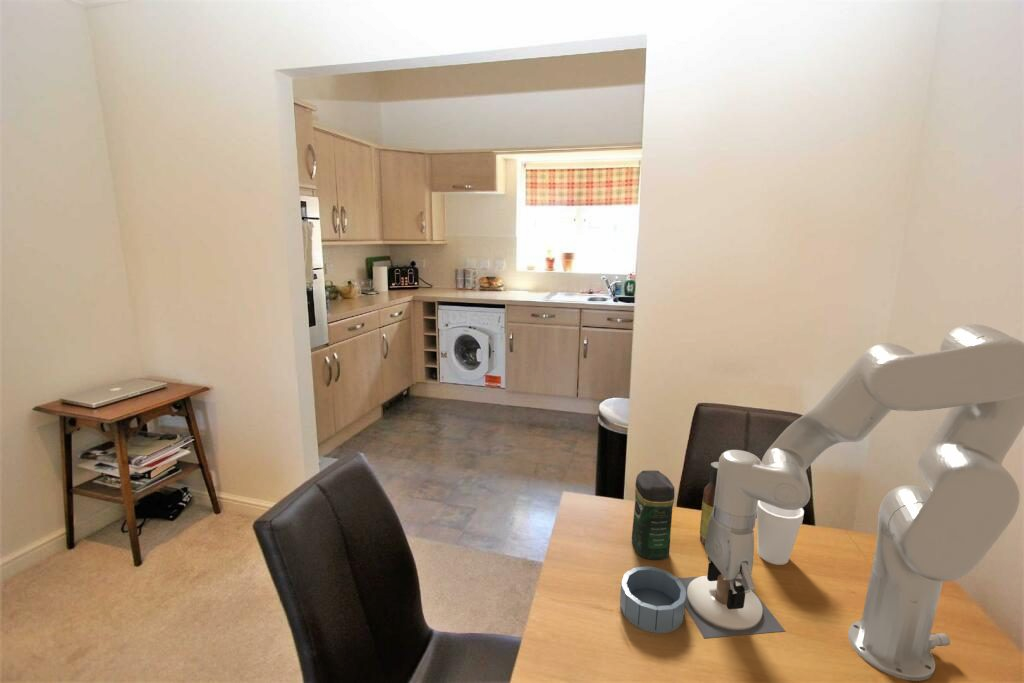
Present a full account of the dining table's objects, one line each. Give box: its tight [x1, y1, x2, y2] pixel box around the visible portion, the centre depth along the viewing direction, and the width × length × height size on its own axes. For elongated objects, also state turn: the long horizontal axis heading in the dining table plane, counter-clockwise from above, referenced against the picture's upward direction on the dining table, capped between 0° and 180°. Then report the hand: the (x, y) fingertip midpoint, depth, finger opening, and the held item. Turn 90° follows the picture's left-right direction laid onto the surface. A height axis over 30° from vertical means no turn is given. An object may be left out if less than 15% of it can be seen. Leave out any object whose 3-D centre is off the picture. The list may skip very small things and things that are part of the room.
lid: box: [687, 574, 763, 630], centre depth 102 cm, size 14×14×6 cm
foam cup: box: [756, 500, 805, 566], centre depth 116 cm, size 10×9×13 cm
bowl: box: [619, 565, 686, 634], centre depth 101 cm, size 12×12×6 cm
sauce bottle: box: [699, 461, 719, 545], centre depth 121 cm, size 6×6×20 cm
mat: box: [677, 575, 786, 639], centre depth 103 cm, size 16×16×1 cm
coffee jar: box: [631, 469, 675, 561], centre depth 118 cm, size 10×8×19 cm
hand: (724, 592), depth 102 cm, fingers open, 7 cm apart
